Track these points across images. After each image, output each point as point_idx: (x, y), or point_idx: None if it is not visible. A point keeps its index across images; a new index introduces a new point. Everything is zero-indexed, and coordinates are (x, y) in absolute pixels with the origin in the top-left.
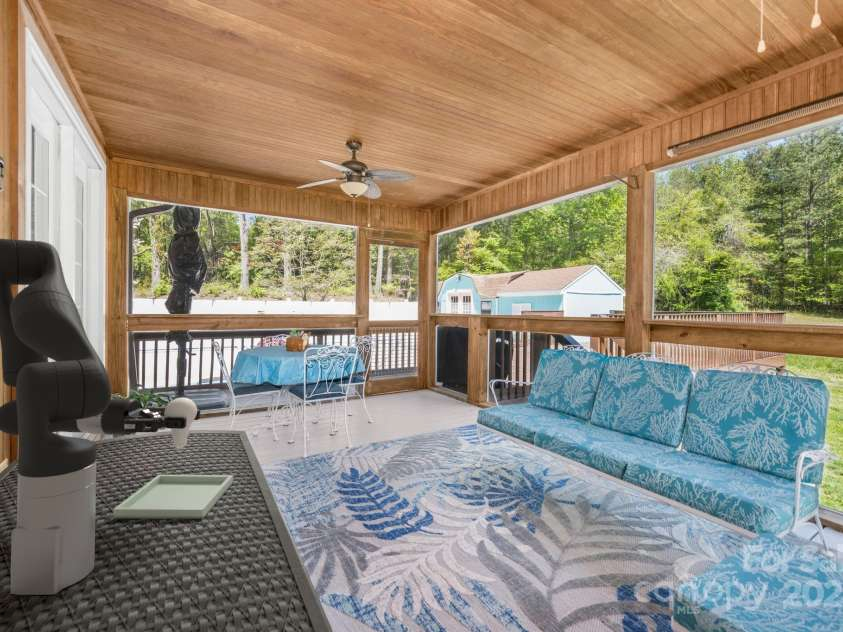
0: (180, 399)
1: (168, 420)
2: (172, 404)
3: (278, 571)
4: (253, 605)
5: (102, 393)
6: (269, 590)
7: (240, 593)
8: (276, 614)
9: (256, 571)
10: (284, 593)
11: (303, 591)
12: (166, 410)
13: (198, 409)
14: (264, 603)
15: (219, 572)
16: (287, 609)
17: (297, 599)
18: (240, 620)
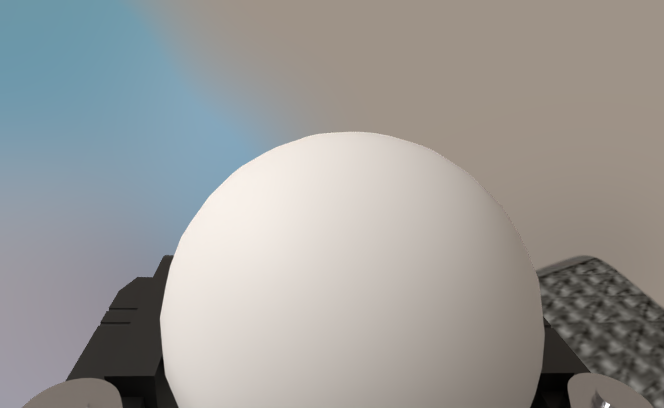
0: (421, 146)
1: (574, 360)
2: (510, 228)
3: (542, 292)
4: (624, 303)
5: None
6: (585, 294)
7: (619, 320)
8: (615, 281)
9: (562, 315)
10: (577, 280)
11: (559, 266)
12: (537, 351)
13: (165, 256)
14: (610, 294)
15: (605, 361)
16: (599, 274)
17: (576, 269)
18: (657, 308)
